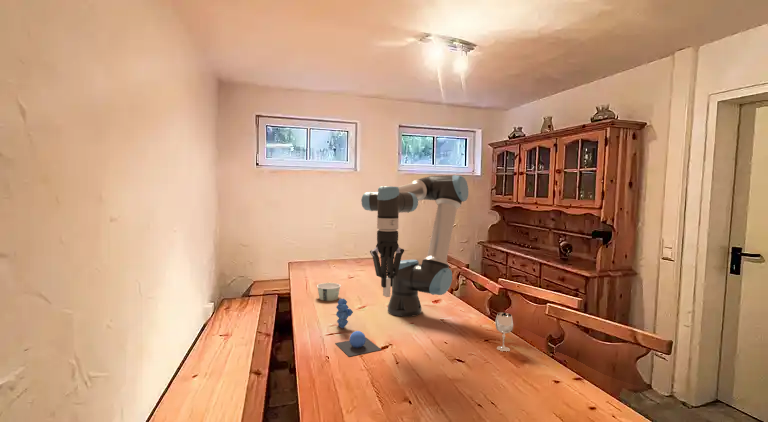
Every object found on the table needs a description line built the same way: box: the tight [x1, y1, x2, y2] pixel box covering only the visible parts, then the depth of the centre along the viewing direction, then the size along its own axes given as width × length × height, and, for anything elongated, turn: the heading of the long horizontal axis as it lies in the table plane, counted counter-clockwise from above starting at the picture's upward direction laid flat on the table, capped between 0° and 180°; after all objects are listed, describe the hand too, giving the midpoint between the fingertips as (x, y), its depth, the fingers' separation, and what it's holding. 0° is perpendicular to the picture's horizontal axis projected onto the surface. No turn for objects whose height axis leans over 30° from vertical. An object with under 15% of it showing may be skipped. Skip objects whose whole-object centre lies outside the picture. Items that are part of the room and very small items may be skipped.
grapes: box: [335, 298, 354, 329], centre depth 147 cm, size 12×7×12 cm, turn 18°
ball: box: [349, 330, 367, 348], centre depth 129 cm, size 6×6×6 cm
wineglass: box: [495, 312, 514, 353], centre depth 129 cm, size 6×6×12 cm
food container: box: [316, 282, 342, 302], centre depth 188 cm, size 12×12×6 cm
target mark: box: [334, 336, 382, 358], centre depth 129 cm, size 12×12×1 cm
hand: (386, 295), depth 134 cm, fingers closed
